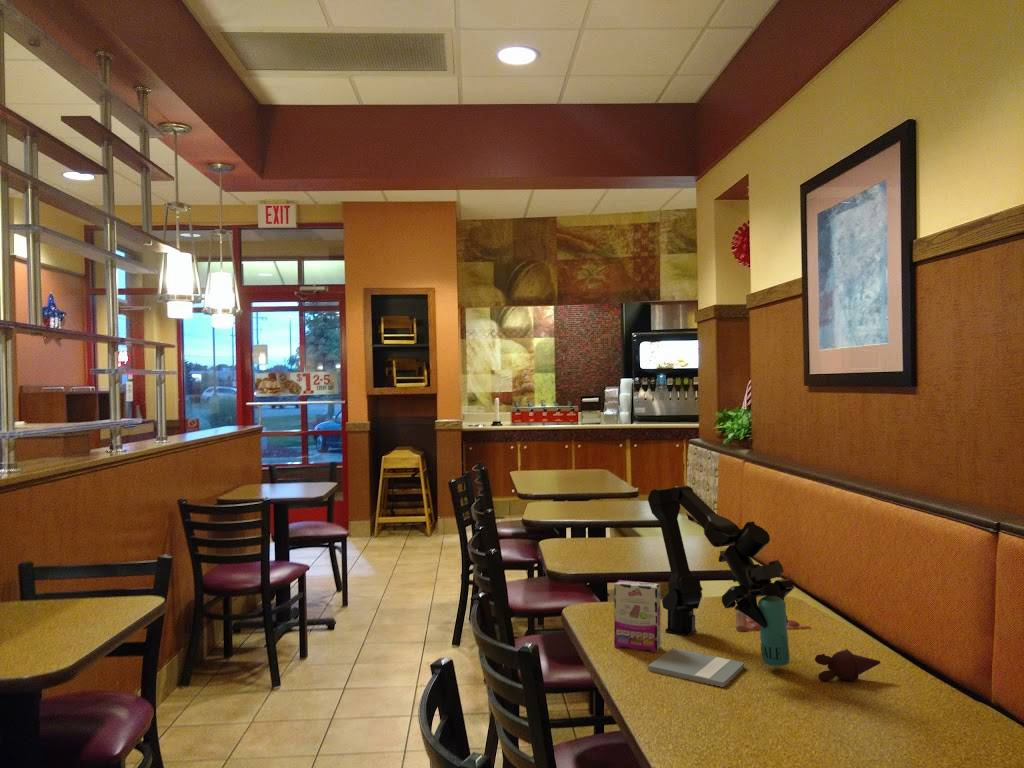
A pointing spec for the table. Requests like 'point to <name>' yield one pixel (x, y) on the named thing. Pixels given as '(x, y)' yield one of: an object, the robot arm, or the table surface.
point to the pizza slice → (749, 624)
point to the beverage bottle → (774, 627)
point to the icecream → (844, 665)
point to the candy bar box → (637, 616)
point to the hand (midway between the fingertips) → (776, 625)
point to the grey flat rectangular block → (696, 667)
